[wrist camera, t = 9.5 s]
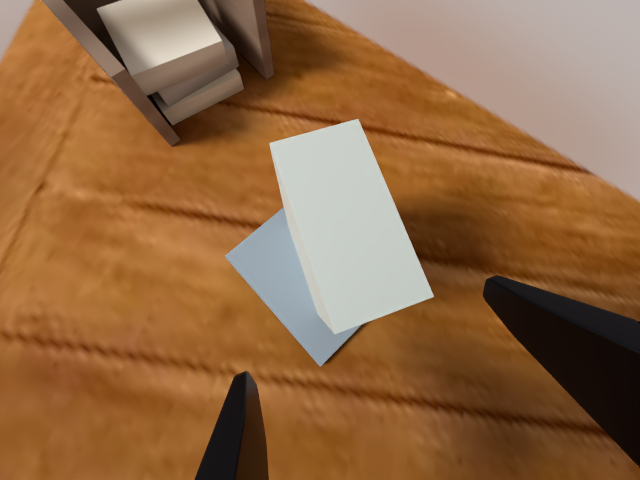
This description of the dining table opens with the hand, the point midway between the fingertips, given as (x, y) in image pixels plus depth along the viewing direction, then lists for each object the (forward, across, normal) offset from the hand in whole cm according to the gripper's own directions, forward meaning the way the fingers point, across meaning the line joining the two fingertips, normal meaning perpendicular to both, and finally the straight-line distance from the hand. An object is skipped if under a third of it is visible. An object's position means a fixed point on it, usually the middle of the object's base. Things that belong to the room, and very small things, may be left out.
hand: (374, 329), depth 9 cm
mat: (+8, 0, +3) cm, 9 cm away
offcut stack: (+20, +5, -9) cm, 22 cm away
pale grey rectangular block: (+8, 0, +2) cm, 8 cm away
